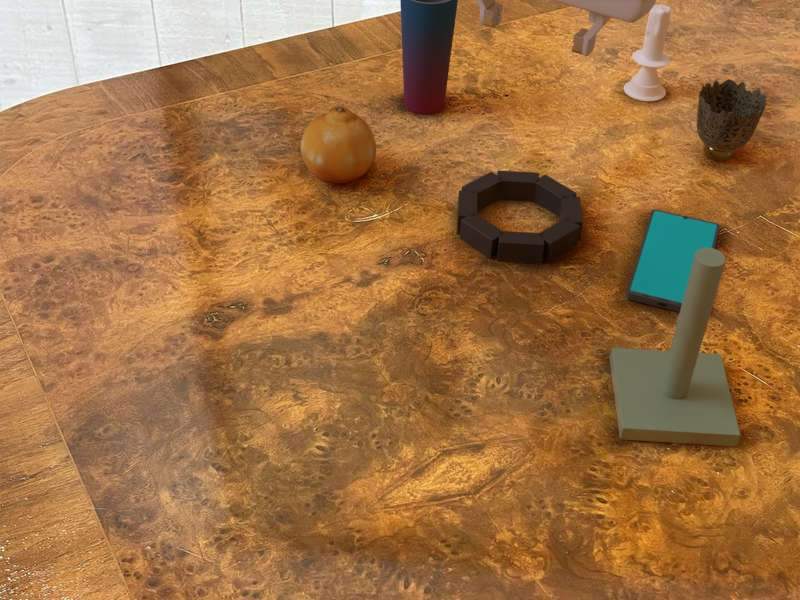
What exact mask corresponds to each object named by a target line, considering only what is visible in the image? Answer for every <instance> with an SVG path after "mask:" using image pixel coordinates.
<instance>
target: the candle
mask: <svg viewBox="0 0 800 600" xmlns="http://www.w3.org/2000/svg"><path fill="white" fill-rule="evenodd" d="M671 12H672V8H671V7H670V6H668V5H666V4H658V3H657V4H654V6H653V8H652V9H651V10H650V11H649V12H648V13H649V14H648V18H647V22H646V27H645V30H644V32H645V33H644V39H643V44H642V49H637V50H636V51H634V52H633V53H632V54H631V57H632V60H633V61H634V62H635V63H636V64H638V65H640V66H641V68H640V69H639V70H638V72H637V73H636V74H634V75H633V76H632V77H631V78H630V80H629V81H627V82H626V83H625V84H624V85H623V92H624V93H625V94H626V95H627V96H628V97H629V98H631V99H634V100H636V101H641V102H657V101H660V100H662V99H663V98H665V96H666V94H667V91H666V89H665V86H663V81H662V79H661V78H660V77H659V74H658V70H657V69H659V68H664V67H666V66H668V65H669V64H670V62H671V57H670V56H669V55H668V54H667V53H665V52H664V50H665V43H666V40H667V34H668V30H669V26H670V23H671V21H670V20H671V14H672V13H671Z"/></svg>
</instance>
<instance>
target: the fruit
mask: <svg viewBox="0 0 800 600" xmlns="http://www.w3.org/2000/svg"><path fill="white" fill-rule="evenodd" d="M300 154H301V158H302V160H303V162H304V164H305V166H306V169H308V170H309V172H311V173H312V174H313V175H314V176H315V177H317V178H319V179H320V180H321V181H322V180H323V181H325V182H329V183H337V184H344V183H345V184H346V183H350V182H353V181H356V180H358V179H360V178H362V177H363V176H364V175H365V174H366V173H367V172H368V171H369V170H370V168H371V167H372V166H373V164H374V162H375V159H376V156H377V143H376V139H375V135H374V133H373V130H372V128H371V126H370V125H369V124H368V123H367V121H365V119H363V118H362V117H361V116H359V115H358V114H357V113H354V112H353V111H351V110H350V109H348V108H347V107H345V106H344V107H343V106H342V107H341V106H333V107H331V108H330V109H329V110H328V112H326V113H322V114H320V115H318V116H317V117H315V118H313V120H311V121H310V123H309V124H308V125H307V126H306V128H305V129H304V132H303V134H302V137H301V140H300Z"/></svg>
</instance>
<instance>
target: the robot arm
mask: <svg viewBox="0 0 800 600" xmlns="http://www.w3.org/2000/svg"><path fill="white" fill-rule="evenodd" d="M475 1H476V4H477V6H478V8H479V16H478V17H479V18H478V24H479V25H481V26H485V27H488V28H492V29H496V27H497V26H499V25H500V24H501V22H502V19H503V17H502V13H503V8H504V5H503V4H501V3H498V2H496V0H475ZM550 2H555V3H559V4H563V5H565V6H569V7H571V8H576V9H579V10H584V11H586V12H588V19H587V21H588V22H589V23H593V24H592V25H591V26H590V27H589V29H587V28H583V27H582V28H580V29H579V30H578V32H576V33H575V34H574V35H573V38H572V39H573V40H572V43H573V45H572V47H571V52H572V53H575V54H578V55H582V56H585V57H589V56H590V55H591V54H592V53H593V51H594V50H595V46H596V40H597V34H599V32H600V31H601V30H603V28H604V27H605V26H606V24H607V23H608V22H609V21H610V20H612V19H615V20H620V21H621V22H626V23H630V24H634V23H637V22H638V21H639V20H641V19H642V18H643V17H645V16H647V14H648V13H650V10H651V9H652V8H653V6H654V5H656V3H657V0H550Z"/></svg>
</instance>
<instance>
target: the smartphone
mask: <svg viewBox="0 0 800 600" xmlns="http://www.w3.org/2000/svg"><path fill="white" fill-rule="evenodd" d="M720 226H721V225H720V223H717V222H713V221H709V220H705V219H701V218H697V217H692V216H687V215H682V214H678V213H673V212H668V211H665V210H661V209H655V208H653V209H652V210H651V212H650V215H649V219H648V221H647V225H646V228H645V231H644V235H643V237H642V241H641V244H640V248H639V251H638V254H637V257H636V260H635V263H634V267H633V270H632V273H631V276H630V279H629V283H628V286H627V288H626V293H625V298H626V299H627V300H630V301H633V302H634V301H635V302H638V303H643V304H646V305H649V306H654V307H659V308H662V309H667V310H670V311H674V312H679V313H680V309H681V306H682V302H683V298H684V294H685V291H686V287H687V283H688V279H689V276H690V272H691V268H692V264H693V261H694V257H695V253H696V252H697V251H698V250H699V249H701V248H713V249H716V248H717V244H718V240H719V239H718V237H719V231H720ZM716 250H717V249H716Z"/></svg>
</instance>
